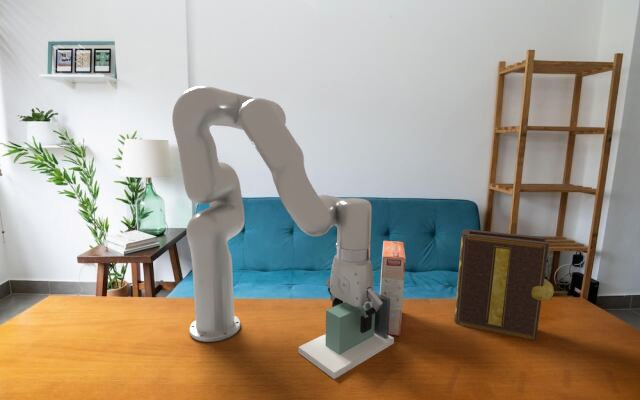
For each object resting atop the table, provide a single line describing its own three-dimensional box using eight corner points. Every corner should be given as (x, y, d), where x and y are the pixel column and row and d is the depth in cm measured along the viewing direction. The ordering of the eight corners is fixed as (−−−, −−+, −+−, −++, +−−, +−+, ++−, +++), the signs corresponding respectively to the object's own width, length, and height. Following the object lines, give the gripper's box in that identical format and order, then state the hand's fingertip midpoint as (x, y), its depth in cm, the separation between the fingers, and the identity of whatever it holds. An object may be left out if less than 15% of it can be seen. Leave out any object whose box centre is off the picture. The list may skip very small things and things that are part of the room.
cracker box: (401, 337, 91) (406, 257, 87) (377, 334, 92) (381, 255, 88) (400, 310, 104) (404, 241, 100) (379, 308, 105) (382, 239, 101)
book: (453, 326, 96) (461, 235, 91) (454, 312, 104) (462, 227, 99) (549, 345, 88) (563, 246, 83) (543, 328, 96) (555, 237, 91)
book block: (325, 345, 84) (326, 310, 82) (360, 328, 92) (361, 295, 90) (339, 354, 80) (339, 317, 79) (374, 335, 88) (375, 301, 87)
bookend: (354, 322, 94) (355, 286, 92) (357, 321, 95) (359, 285, 93) (385, 339, 87) (387, 300, 85) (388, 337, 88) (390, 299, 86)
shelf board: (298, 352, 84) (298, 346, 83) (357, 323, 97) (357, 318, 96) (334, 379, 75) (334, 372, 74) (393, 343, 88) (393, 337, 87)
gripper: (315, 246, 86) (315, 313, 89) (371, 267, 73) (368, 344, 76) (338, 241, 91) (337, 304, 94) (394, 259, 78) (390, 332, 81)
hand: (351, 322), depth 85 cm, fingers open, 8 cm apart
